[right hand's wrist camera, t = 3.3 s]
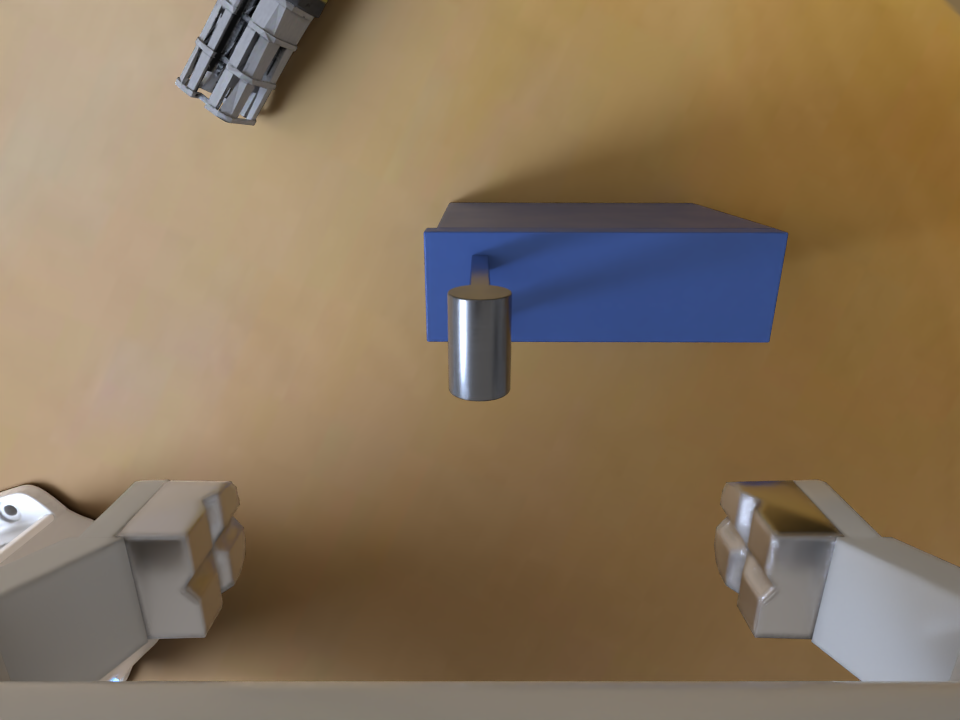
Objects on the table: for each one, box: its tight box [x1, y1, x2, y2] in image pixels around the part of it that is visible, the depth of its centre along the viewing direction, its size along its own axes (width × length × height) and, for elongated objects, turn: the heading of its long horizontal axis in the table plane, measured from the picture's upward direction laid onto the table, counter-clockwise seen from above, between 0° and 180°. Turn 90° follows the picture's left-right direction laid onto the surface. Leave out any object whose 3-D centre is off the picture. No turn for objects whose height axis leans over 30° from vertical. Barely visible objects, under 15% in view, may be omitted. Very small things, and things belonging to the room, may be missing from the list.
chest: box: [437, 203, 775, 229], centre depth 32 cm, size 14×5×11 cm, turn 90°
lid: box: [424, 228, 788, 401], centre depth 22 cm, size 15×5×9 cm, turn 90°
